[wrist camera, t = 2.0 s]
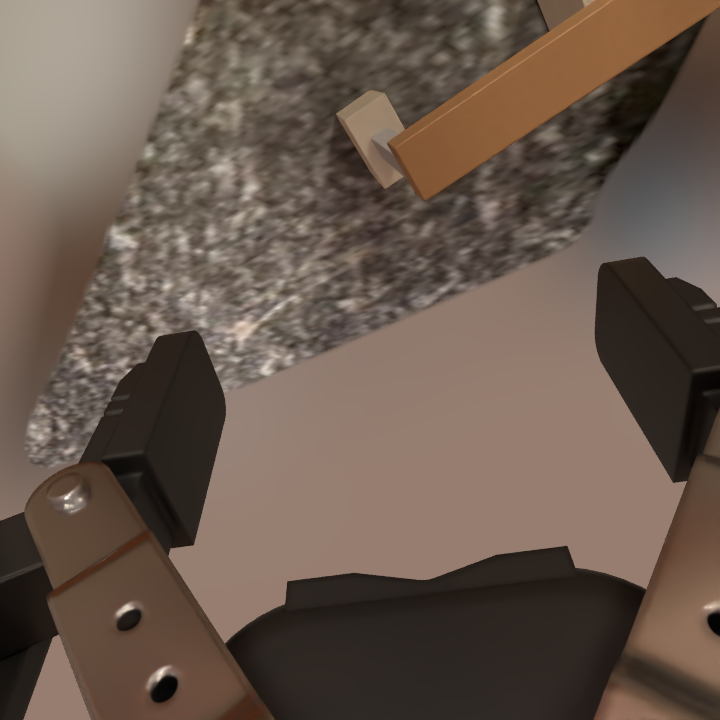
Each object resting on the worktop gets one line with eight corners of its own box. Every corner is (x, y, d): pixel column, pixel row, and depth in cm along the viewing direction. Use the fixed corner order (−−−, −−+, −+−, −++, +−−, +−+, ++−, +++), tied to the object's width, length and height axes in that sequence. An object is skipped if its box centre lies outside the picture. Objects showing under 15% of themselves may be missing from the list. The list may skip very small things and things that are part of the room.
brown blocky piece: (335, 113, 34) (366, 139, 22) (566, -49, 32) (745, -121, 20) (371, 173, 36) (419, 229, 24) (593, 23, 34) (773, -2, 22)
